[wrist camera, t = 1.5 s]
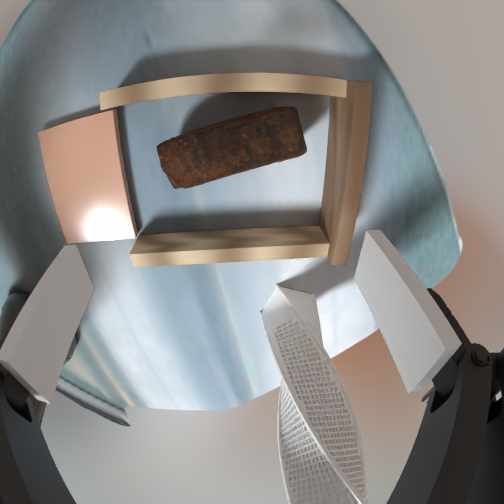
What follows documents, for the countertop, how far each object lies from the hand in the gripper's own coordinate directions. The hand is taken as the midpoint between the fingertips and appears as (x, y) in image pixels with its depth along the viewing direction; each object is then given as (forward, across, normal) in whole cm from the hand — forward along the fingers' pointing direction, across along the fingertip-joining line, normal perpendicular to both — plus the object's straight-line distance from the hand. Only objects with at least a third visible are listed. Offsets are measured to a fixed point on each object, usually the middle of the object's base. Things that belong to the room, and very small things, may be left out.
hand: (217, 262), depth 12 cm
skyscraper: (+15, +7, -18) cm, 24 cm away
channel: (+15, 0, 0) cm, 15 cm away
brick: (+15, -1, 0) cm, 15 cm away
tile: (+15, -14, 0) cm, 20 cm away
